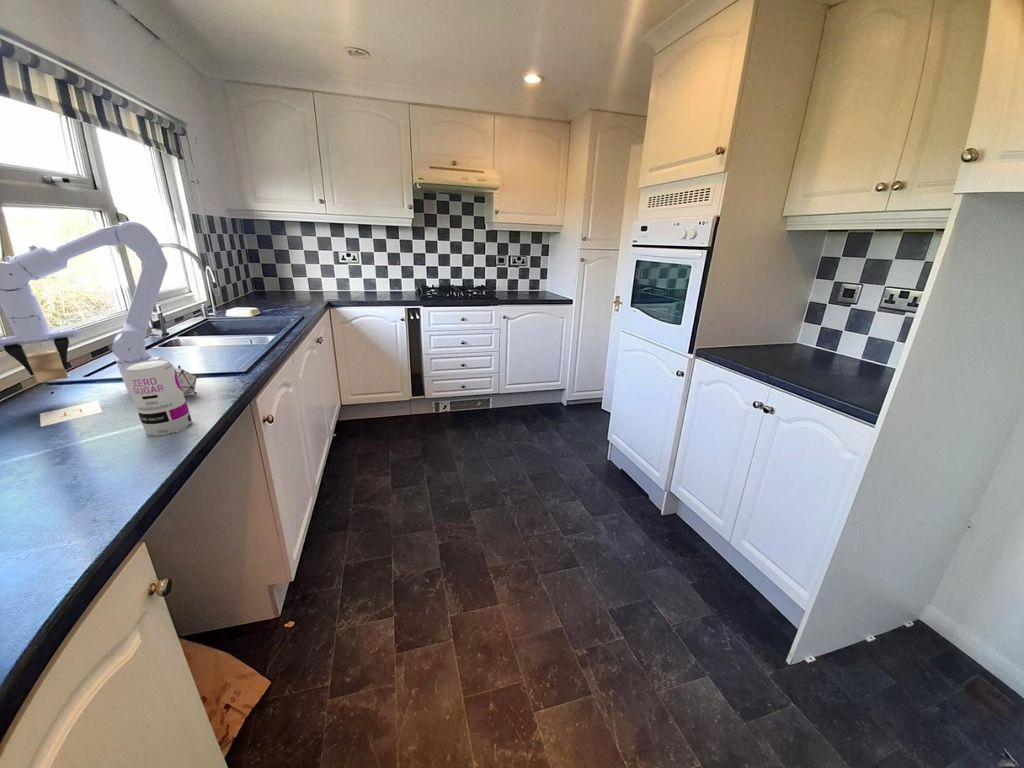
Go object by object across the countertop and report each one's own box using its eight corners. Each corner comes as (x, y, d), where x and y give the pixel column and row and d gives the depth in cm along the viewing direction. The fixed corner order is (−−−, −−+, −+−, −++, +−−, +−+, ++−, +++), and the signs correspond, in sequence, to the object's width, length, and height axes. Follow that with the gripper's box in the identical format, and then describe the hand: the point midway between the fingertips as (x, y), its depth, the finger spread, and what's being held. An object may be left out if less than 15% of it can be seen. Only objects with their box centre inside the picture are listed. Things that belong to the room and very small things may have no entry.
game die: (179, 413, 107) (138, 391, 100) (189, 391, 113) (151, 369, 106) (205, 396, 106) (166, 373, 99) (214, 375, 112) (177, 352, 105)
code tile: (98, 403, 104) (97, 400, 104) (103, 414, 98) (102, 411, 97) (40, 415, 97) (39, 413, 97) (41, 428, 91) (40, 426, 91)
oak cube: (66, 372, 103) (56, 350, 101) (68, 377, 100) (58, 354, 98) (37, 377, 100) (26, 354, 98) (38, 383, 97) (26, 359, 95)
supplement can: (186, 416, 96) (166, 356, 91) (197, 427, 91) (177, 363, 86) (142, 429, 90) (117, 365, 85) (151, 441, 85) (126, 373, 80)
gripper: (68, 309, 102) (89, 360, 107) (-23, 318, 92) (5, 375, 97) (70, 312, 98) (92, 366, 103) (-25, 323, 88) (4, 382, 93)
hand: (50, 371), depth 100 cm, fingers closed on oak cube, 5 cm apart
